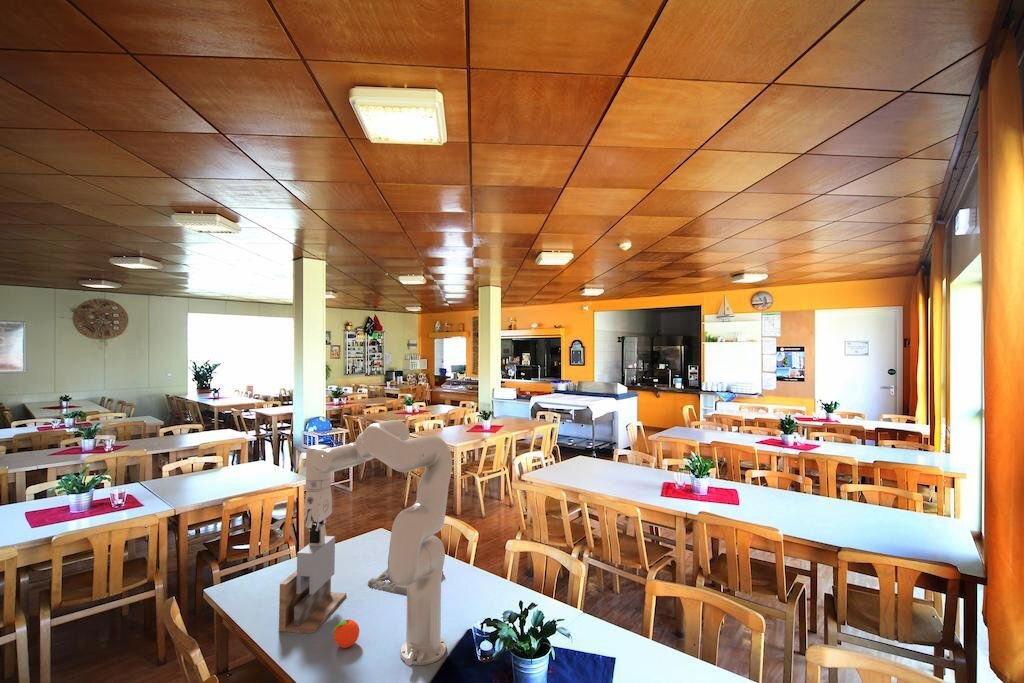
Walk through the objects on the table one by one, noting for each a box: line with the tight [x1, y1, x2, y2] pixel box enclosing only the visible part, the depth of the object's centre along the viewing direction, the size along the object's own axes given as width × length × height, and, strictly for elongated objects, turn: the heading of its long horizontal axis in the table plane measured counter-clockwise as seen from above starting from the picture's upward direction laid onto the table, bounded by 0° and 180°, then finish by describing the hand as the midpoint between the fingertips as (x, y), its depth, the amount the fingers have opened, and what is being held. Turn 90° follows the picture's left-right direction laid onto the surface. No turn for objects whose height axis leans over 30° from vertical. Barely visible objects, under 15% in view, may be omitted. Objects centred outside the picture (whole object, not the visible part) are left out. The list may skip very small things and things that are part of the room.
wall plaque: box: [367, 568, 445, 596], centre depth 173 cm, size 24×19×4 cm
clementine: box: [330, 618, 360, 649], centre depth 134 cm, size 8×7×7 cm
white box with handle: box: [296, 523, 336, 595], centre depth 152 cm, size 14×5×18 cm, turn 175°
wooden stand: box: [278, 569, 347, 634], centre depth 152 cm, size 22×11×14 cm, turn 175°
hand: (317, 540), depth 152 cm, fingers closed on white box with handle, 2 cm apart
